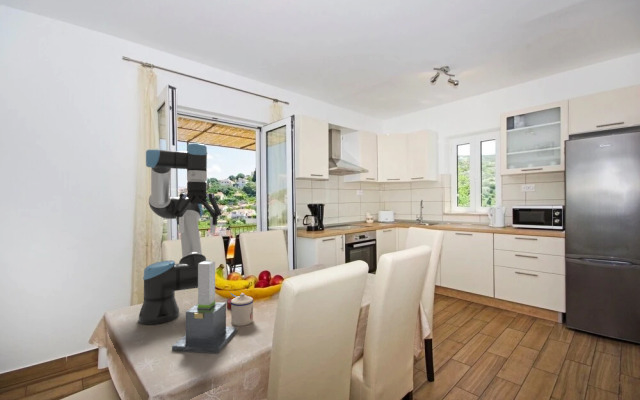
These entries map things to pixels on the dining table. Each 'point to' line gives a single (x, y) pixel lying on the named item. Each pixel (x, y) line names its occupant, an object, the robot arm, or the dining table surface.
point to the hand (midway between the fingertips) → (197, 232)
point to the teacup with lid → (242, 310)
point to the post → (206, 285)
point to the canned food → (230, 301)
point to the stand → (205, 330)
